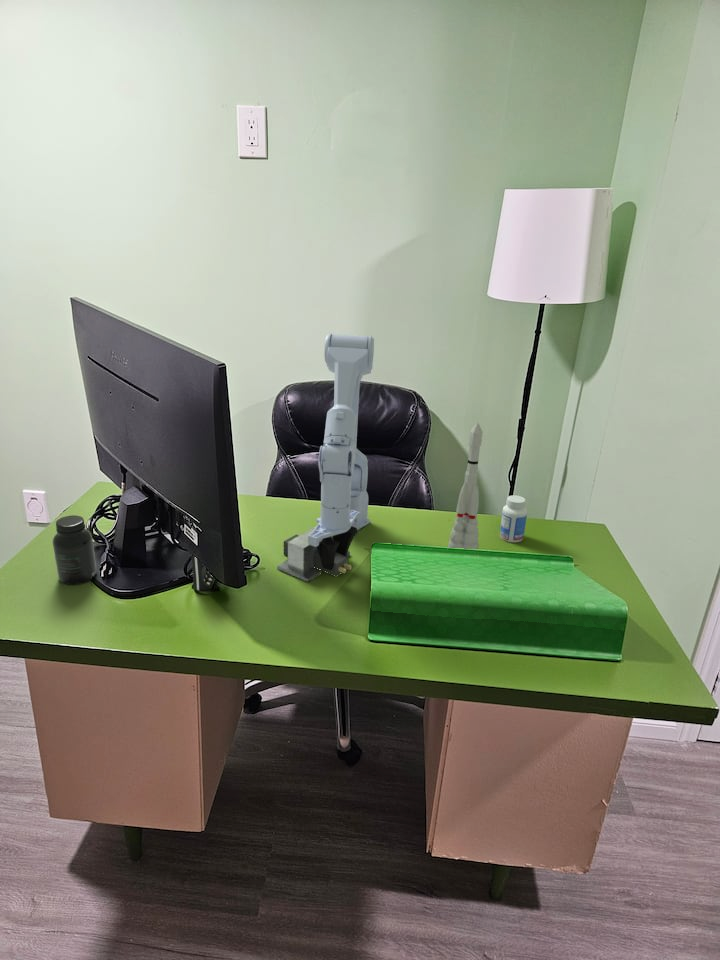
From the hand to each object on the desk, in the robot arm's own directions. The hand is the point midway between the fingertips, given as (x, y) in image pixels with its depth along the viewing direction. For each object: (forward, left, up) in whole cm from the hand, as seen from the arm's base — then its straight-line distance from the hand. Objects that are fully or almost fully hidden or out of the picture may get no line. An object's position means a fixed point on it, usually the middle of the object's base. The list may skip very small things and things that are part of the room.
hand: (333, 563), depth 128 cm
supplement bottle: (+33, -37, -2) cm, 50 cm away
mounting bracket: (0, -5, -1) cm, 5 cm away
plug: (0, -5, -1) cm, 5 cm away
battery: (+19, -16, -2) cm, 25 cm away
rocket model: (-22, +18, -2) cm, 29 cm away
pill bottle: (-37, +23, -2) cm, 44 cm away
